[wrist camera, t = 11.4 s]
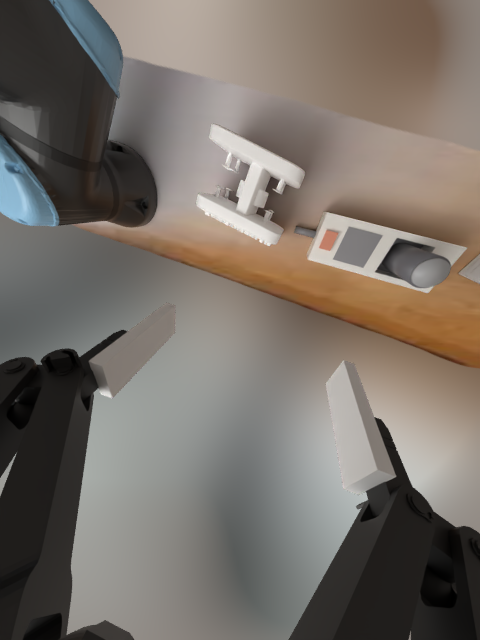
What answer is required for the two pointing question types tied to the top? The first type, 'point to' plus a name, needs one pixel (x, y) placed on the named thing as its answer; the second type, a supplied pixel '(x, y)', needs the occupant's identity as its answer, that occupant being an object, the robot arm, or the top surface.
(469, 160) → the top surface
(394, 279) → the power strip
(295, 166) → the cable organizer
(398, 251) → the plug
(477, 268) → the supplement box
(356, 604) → the robot arm
